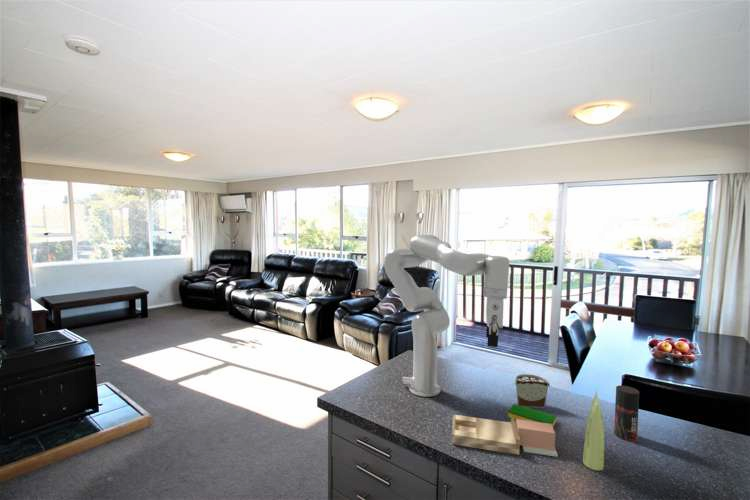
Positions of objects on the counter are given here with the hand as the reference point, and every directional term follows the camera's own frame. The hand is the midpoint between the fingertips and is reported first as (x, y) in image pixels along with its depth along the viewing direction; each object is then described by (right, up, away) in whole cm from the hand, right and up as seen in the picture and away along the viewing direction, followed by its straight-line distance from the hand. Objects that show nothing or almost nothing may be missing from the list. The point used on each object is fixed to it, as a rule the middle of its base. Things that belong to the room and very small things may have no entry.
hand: (491, 341), depth 121 cm
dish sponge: (+14, -27, 0) cm, 30 cm away
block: (+8, -24, -15) cm, 29 cm away
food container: (+18, -26, +11) cm, 34 cm away
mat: (+9, -27, -15) cm, 32 cm away
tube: (+20, -28, -24) cm, 42 cm away
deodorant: (+39, -28, -10) cm, 49 cm away
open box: (-6, -27, -12) cm, 30 cm away
